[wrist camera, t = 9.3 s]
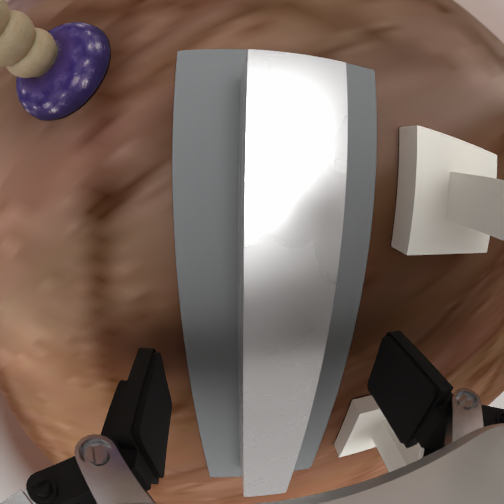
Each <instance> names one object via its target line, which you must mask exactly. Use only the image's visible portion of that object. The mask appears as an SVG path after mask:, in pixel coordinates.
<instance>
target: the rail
mask: <svg viewBox="0 0 504 504" xmlns="http://www.w3.org/2000/svg"><path fill="white" fill-rule="evenodd" d="M347 145H348V100H347V72H346V63H345V62H341V61H336V60H331V59H326V58H321V57H315V56H309V55H303V54H296V53H288V52H279V51H268V50H254V49H248V51H247V55H246V59H245V63H244V67H243V71H242V75H241V79H240V116H239V166H238V397H239V445H240V470H241V478H242V487H243V495H244V497H250V496H262V495H271V494H279V493H286V490H287V488H288V485H289V482H290V479H291V476H292V473H293V470H294V467H295V464H296V461H297V458H298V455H299V451H300V448H301V445H302V441H303V438H304V435H305V431H306V427H307V424H308V420H309V416H310V413H311V409H312V405H313V401H314V397H315V393H316V389H317V384H318V380H319V376H320V371H321V366H322V362H323V357H324V352H325V347H326V342H327V337H328V331H329V326H330V320H331V314H332V308H333V302H334V295H335V288H336V281H337V274H338V266H339V258H340V249H341V240H342V230H343V219H344V207H345V192H346V174H347Z"/></svg>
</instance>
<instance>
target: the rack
mask: <svg viewBox="0 0 504 504" xmlns="http://www.w3.org/2000/svg"><path fill="white" fill-rule="evenodd" d="M496 177H497V155H496V154H493V153H491V152H489V151H487V150H484V149H482V148H480V147H477V146H475V145H473V144H470V143H468V142H465V141H462V140H460V139H457V138H455V137H452V136H449V135H446V134H443V133H440V132H437V131H434V130H431V129H428V128H425V127H422V126H418V125H414V126H406V127H399V170H398V187H397V199H396V210H395V219H394V228H393V236H392V243H391V247H393V248H395V249H396V250H398V251H400V252H402V253H404V254H406V255H433V254H462V253H487V249H488V244H489V239H490V236H493V237H495V238H498V239H500V240H503V241H504V180H500V179H496ZM334 446H335V449H336V451H337V454H338V456H339V457H343V456H346V455H350V454H354V453H357V452H361V451H364V450H367V449H371V448H374V447H377V449H378V451H379V453H380V455H381V457H382V459H383V461H384V463H385V465H386V467H387V469H388V471H389V472H391V471H394V470H396V469H399V468H401V467H403V466H406V465H408V464H410V463H413V462H415V461H417V460H418V457H419V451H420V444H419V443H417V444H416V445H414V446H412V447H410V448H406V447H405V445H404V444H402V443H400V441H399V440H398V438H397V436H396V435H395V433H394V431H393V430H392V428H391V426H390V425H389V423H388V421H387V420H386V418H385V416H384V415H383V413H382V411H381V410H380V408H379V406H378V405H377V403H376V401H375V400H374V398H373V397H372V395H370V396H366V397H362V398H358V399H353V400H352V401H351V404H350V407H349V409H348V412H347V415H346V417H345V420H344V422H343V425H342V427H341V429H340V432H339V434H338V436H337V439H336V441H335V443H334Z"/></svg>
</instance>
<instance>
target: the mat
mask: <svg viewBox="0 0 504 504" xmlns="http://www.w3.org/2000/svg"><path fill="white" fill-rule="evenodd" d="M247 51H248V50H240V49H203V50H183V51H178V53H177V64H176V77H175V92H174V112H173V152H172V175H173V216H174V237H175V253H176V267H177V279H178V291H179V301H180V310H181V319H182V328H183V336H184V343H185V350H186V357H187V364H188V371H189V377H190V383H191V389H192V395H193V400H194V406H195V411H196V416H197V421H198V426H199V431H200V436H201V440H202V445H203V449H204V453H205V458H206V462H207V466H208V470H209V474H210V477H239V476H241V470H240V445H239V397H238V166H239V116H240V79H241V75H242V71H243V67H244V63H245V59H246V55H247ZM346 72H347V100H348V145H347V174H346V192H345V207H344V219H343V230H342V240H341V249H340V258H339V266H338V274H337V281H336V288H335V295H334V302H333V308H332V314H331V320H330V326H329V331H328V337H327V342H326V347H325V352H324V357H323V362H322V366H321V371H320V376H319V380H318V384H317V389H316V393H315V397H314V401H313V405H312V409H311V413H310V416H309V420H308V424H307V427H306V431H305V435H304V438H303V441H302V445H301V448H300V451H299V455H298V458H297V461H296V464H295V467H294V470H293V471H295V470H301V469H307V468H310V467H311V465H312V463H313V460H314V458H315V455H316V453H317V450H318V448H319V445H320V442H321V440H322V437H323V434H324V432H325V429H326V426H327V423H328V420H329V417H330V414H331V411H332V408H333V405H334V402H335V399H336V396H337V393H338V389H339V386H340V383H341V379H342V376H343V372H344V368H345V365H346V361H347V357H348V353H349V349H350V345H351V341H352V337H353V333H354V328H355V324H356V319H357V314H358V309H359V304H360V299H361V294H362V288H363V283H364V277H365V271H366V264H367V257H368V250H369V243H370V235H371V226H372V216H373V205H374V193H375V177H376V151H377V111H376V86H375V72H374V70H371V69H368V68H364V67H360V66H356V65H352V64H348V63H346Z"/></svg>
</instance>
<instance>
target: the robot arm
mask: <svg viewBox="0 0 504 504" xmlns="http://www.w3.org/2000/svg"><path fill="white" fill-rule="evenodd" d="M452 389H453V387H452V386H451V384H450V383H449V382H448V381H447V380H446V379H445V378H444V377H443V376H442V375H441V373H440V372H439V371H438V370H437V369H436V368H435V367H434V366H433V365H432V364H431V363H430V362H429V360H428V359H427V358H426V357H425V356H424V355H423V354H422V353H421V352H420V351H419V350H418V349H417V348H416V347H415V346H414V345H413V344H412V343H411V342H410V340H409V339H408V338H407V337H406V336H405V335H404V334H403V333H402V332H401V331H394V332H388V333H386V335H385V337H383V338H382V341H381V344H380V347H379V351H378V354H377V357H376V360H375V363H374V366H373V369H372V372H371V375H370V378H369V381H368V390H369V392H370V393H371V395H372V397H373V398H374V400H375V401H376V403H377V405H378V406H379V408H380V410H381V411H382V413H383V415H384V416H385V418H386V420H387V421H388V423H389V425H390V426H391V428H392V430H393V431H394V433H395V435H396V436H397V438H398V440H399V441H400V443H402V444H404V445H405V447H406V448H410V447H412V446H414V445H416V444H417V443H419V444H420V451H419V457H418V460H417V461H415V462H413V463H410V464H408V465H406V466H403V467H401V468H399V469H396V470H394V471H391V472H389V473H386V474H383V475H381V476H378V477H375V478H372V479H369V480H366V481H363V482H360V483H357V484H354V485H351V486H347V487H344V488H340V489H336V490H332V491H328V492H324V493H320V494H315V495H311V496H306V497H300V498H295V499H289V500H282V501H275V502H267V503H257V504H504V409H500V408H495V407H490V406H485V405H481V400H480V397H479V396H478V395H477V394H476V393H475V392H474V391H472V390H470V389H466V388H461V389H458V390H456V391H455V392H454V394H452V393H451V391H452ZM171 410H172V402H171V397H170V393H169V389H168V385H167V381H166V376H165V372H164V367H163V363H162V358H161V354H160V353H156V351H155V349H150V348H139V350H138V353H137V355H136V358H135V361H134V364H133V366H132V369H131V372H130V375H129V378H128V381H124V380H121V381H120V382H119V384H118V386H117V389H116V392H115V394H114V397H113V400H112V403H111V406H110V408H109V411H108V414H107V417H106V420H105V423H104V426H103V429H102V432H101V435H95V434H93V435H88V436H86V437H84V438H82V439H81V440H80V441H79V442H78V443H77V445H76V447H75V452H74V453H75V456H74V457H72V458H69V459H67V460H65V461H63V462H60V463H58V464H56V465H53V466H51V467H48V468H46V469H44V470H41V471H39V472H36V473H34V474H33V475H31V476H30V477H29V479H28V481H27V485H26V487H27V488H26V490H25V491H24V492H23V491H22V490H19V491H18V492H16V493H15V494H14V495H12V496H11V497H9V498H8V499H6V500H5V501H4V502H2V503H1V504H156V502H155V501H154V500H153V498H152V497H151V496H150V494H149V493H148V492H147V491H148V490H150V489H151V484H158V481H159V478H163V477H164V470H165V460H166V450H167V442H168V433H169V425H170V417H171Z"/></svg>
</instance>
